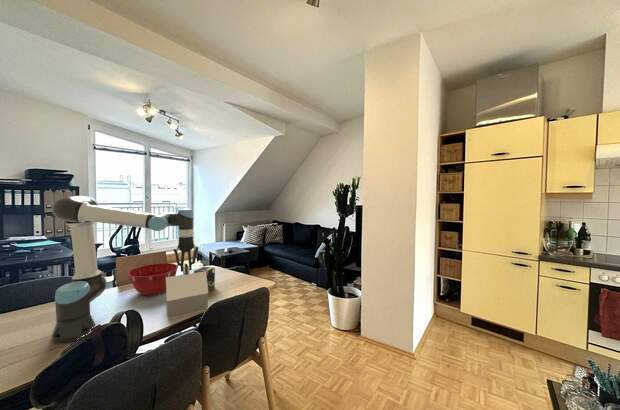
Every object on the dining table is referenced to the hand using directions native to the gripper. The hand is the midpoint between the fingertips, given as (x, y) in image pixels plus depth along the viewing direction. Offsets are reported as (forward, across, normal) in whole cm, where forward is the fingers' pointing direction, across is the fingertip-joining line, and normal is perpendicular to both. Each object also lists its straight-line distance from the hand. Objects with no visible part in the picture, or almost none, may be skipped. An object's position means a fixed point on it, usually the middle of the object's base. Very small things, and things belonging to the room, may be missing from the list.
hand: (186, 276), depth 145 cm
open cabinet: (+19, 0, -3) cm, 19 cm away
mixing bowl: (+20, -15, +36) cm, 44 cm away
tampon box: (+20, +14, +22) cm, 33 cm away
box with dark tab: (+4, 0, +1) cm, 4 cm away
